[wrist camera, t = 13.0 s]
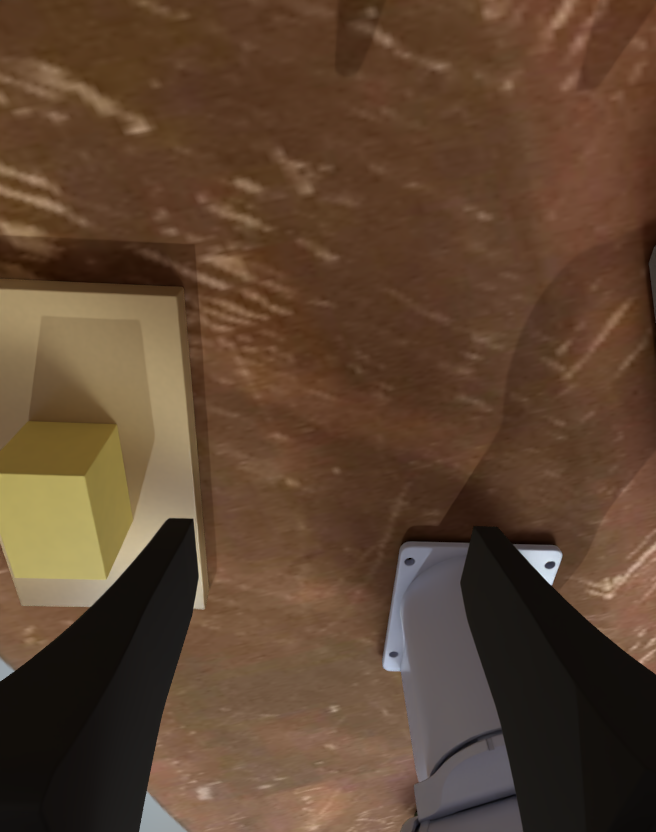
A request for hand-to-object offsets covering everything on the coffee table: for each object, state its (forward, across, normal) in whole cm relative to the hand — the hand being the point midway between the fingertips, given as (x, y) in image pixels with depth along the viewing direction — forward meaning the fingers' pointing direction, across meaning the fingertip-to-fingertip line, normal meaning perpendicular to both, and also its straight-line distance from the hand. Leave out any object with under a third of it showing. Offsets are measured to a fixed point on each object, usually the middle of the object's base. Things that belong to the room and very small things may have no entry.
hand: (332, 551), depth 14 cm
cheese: (+8, +10, +4) cm, 13 cm away
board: (+9, +10, +4) cm, 14 cm away
